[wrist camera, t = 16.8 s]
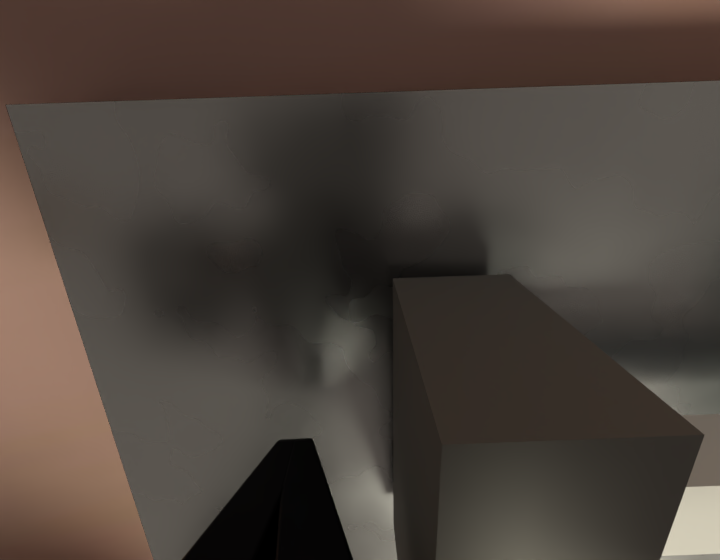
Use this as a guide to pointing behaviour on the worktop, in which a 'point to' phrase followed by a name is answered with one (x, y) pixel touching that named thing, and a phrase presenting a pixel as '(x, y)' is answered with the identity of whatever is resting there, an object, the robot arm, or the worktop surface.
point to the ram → (535, 437)
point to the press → (360, 262)
